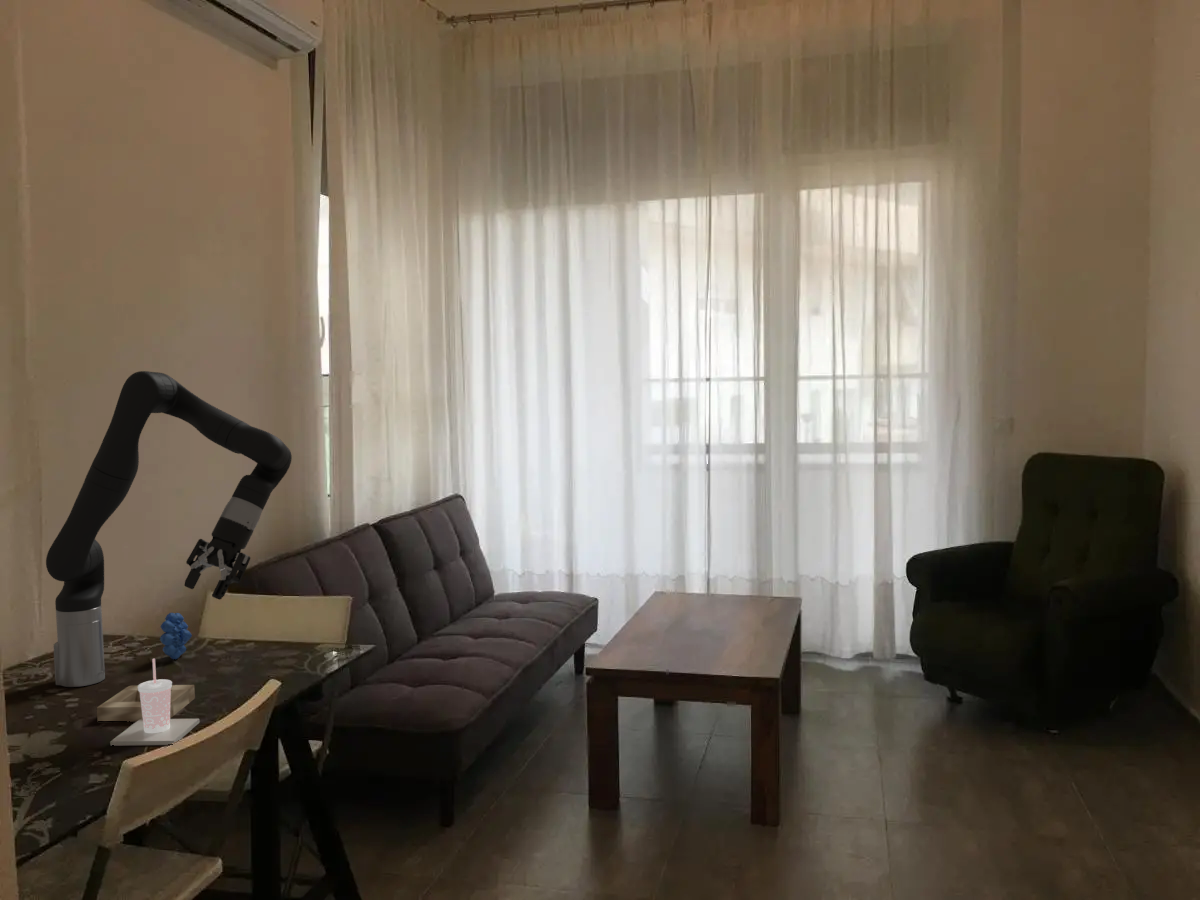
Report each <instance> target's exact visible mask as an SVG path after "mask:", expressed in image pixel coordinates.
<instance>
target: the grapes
mask: <svg viewBox="0 0 1200 900" xmlns="http://www.w3.org/2000/svg"><path fill="white" fill-rule="evenodd" d="M164 620H165V621H163V622H161V624H160V627H159V628H160V629H161V630H162V631H163V632H164V633H163V634H161V636H160V637H159V641H160V642H161V644H162V645H164V646H163V647H162V651H163V652H164V654H165V655H166V656H169V657H170V659H172V660H174V659H175V660H178V659H180V657H181V655H183V654H184V653H186V651H187V648H186V646H185V644H187V643H188V641H190V639H191V638H192V636H193V635H192V633H191V632H190V631H189V630H188V628H189V625H188V624H187V623H186V621H184V620H185V617H183V615H182V614H181V613H179V612H175V613H174V612H169V613H168V614H167V615H166V616H165V618H164Z"/></svg>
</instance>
